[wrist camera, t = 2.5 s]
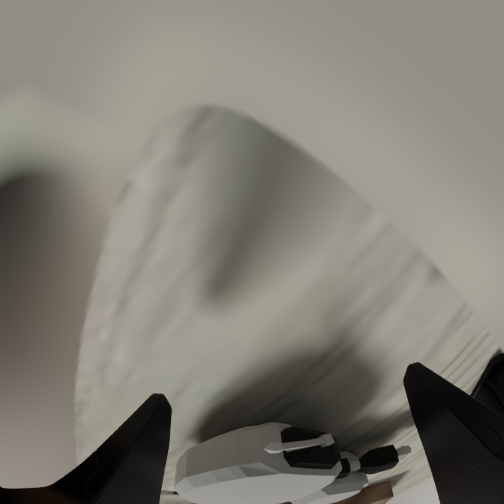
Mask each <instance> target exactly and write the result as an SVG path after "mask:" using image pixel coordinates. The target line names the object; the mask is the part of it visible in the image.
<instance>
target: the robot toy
mask: <svg viewBox="0 0 504 504" xmlns="http://www.w3.org/2000/svg"><path fill="white" fill-rule="evenodd" d="M410 452H411V448H410V447H409V446H402V447H400V448H399V449H397V450H396V449H395V447H394V446H393V445H389V446H385V447H381V448H377V449H373V450H370V451H368V452H367V453H366V454H364V455H363V456H362V457H360V458H359V457H357V456H355V455H353V454H351V453H349V452H340V451H339V447H338V443H337V440H336V438H335V437H333V436H331V434H328V433H324V432H318V431H313V430H308V429H303V428H298V427H294V426H291V425H288V424H283V423H276V422H267V423H264V424H261V425H256V426H247V427H243V428H239V429H236V430H233V431H230V432H227V433H224V434H221V435H218V436H216V437H214V438H211V439H209V440H207V441H204V442H202V443H200V444H197V445H195V446H193V447H192V448H190V449H188V450H187V451H186V452H185V453H184V454H183V455H182V456H181V457H180V458H179V459H178V462H177V464H176V474H175V484H174V490H175V491H164V490H161V494H160V495H163V496H168V495H180V496H181V497H182V498H183V499H185V500H187V501H189V502H191V503H196V504H280V503H284V502H288V501H290V502H291V503H293V504H331V503H335V502H338V501H341V500H343V499H346V498H349V497H351V496H353V495H355V494H357V493H359V492H360V491H361V490H362V488H363V487H366V486H368V485H369V482H368V479H367V475H366V474H375V473H378V472H382V471H385V470H389V469H392V468H393V467H395V466H396V465H397V463H398V462H399V461H400V460H402V459H403V458H404V457H405V456H406V455H408V454H409V453H410Z"/></svg>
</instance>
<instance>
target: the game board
mask: <svg viewBox="0 0 504 504" xmlns="http://www.w3.org/2000/svg"><path fill="white" fill-rule="evenodd" d="M393 496H394V495H393V492H392V488H391V484H390V481H388V482H385V483H382V484H379V485H375V486H372V487H368V488H365V489H362V490H361V491H360V492H359V493H357V494H355V495H353V496H351V497H349V498H346V499H343V500H341V501H338V502H335V503H331V504H385V503H386V502H387V501H388V500H390V499H391V498H392V497H393ZM194 504H196V503H194ZM280 504H293V503H291V502H287V503H280Z"/></svg>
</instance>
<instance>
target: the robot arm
mask: <svg viewBox="0 0 504 504" xmlns="http://www.w3.org/2000/svg"><path fill="white" fill-rule="evenodd" d="M403 383H404V387H405V391H406V395H407V398H408V402H409V406H410V410H411V414H412V417H413V420H414V422H415V425H416V428H417V431H418V433H419V436H420V439H421V442H422V445H423V447H424V450H425V453H426V456H427V459H428V462H429V466H430V469H431V472H432V475H433V479H434V482H435V485H436V489H437V492H438V496H439V500H440V504H504V354H502V355H500V356H498V357H496V358H495V359H493V360H492V361H491V362H490V363H489V365H488V367H487V369H486V371H485V372H484V374H483V376H482V378H481V380H480V382H479V383H478V385H477V387H476V389H475V390H474V392H473V394H472V395H471V396H470V395H468V394H467V393H465V392H464V391H462V390H461V389H459V388H458V387H456V386H455V385H453V384H452V383H450V382H448V381H447V380H445V379H444V378H442V377H441V376H439V375H438V374H436V373H435V372H433V371H432V370H430V369H429V368H427V367H425V366H424V365H422V364H421V363H419V362H416V363H412V364H410V365H408V367H407V370H406V373H405V376H404V379H403ZM171 415H172V409H171V406H170V404H169V402H168V400H167V399H166V397H165V395H164V394H158V393H154V394H152V395H151V396H150V397H149V398H148V399H147V400H146V401H145V402H144V403H143V404H142V405H141V406H140V407H139V408H138V409H137V410H136V411H135V412H134V413H133V414H132V415H131V416H130V417H129V418H128V419H127V420H126V421H125V422H124V423H123V424H122V425H121V426H120V427H119V428H118V429H117V430H116V431H115V432H114V433H113V434H112V435H111V436H110V437H109V438H108V439H107V440H106V441H105V442H104V443H103V444H102V445H101V446H100V447H99V448H98V449H97V451H94V452H93V453H92V454H91V455H90V456H89V457H88V458H87V459H86V460H85V461H83V462H82V463H81V464H80V465H79V466H77V467H76V468H75V469H74V470H72V471H71V472H69V473H68V474H67V475H65V476H64V477H63V478H61V479H60V480H58V481H57V482H55V483H54V484H52V485H49V486H46V487H40V488H20V489H19V488H18V489H8V488H2V487H0V504H159V500H160V494H161V488H162V482H163V477H164V471H165V466H166V460H167V455H168V449H169V442H170V428H171Z"/></svg>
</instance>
